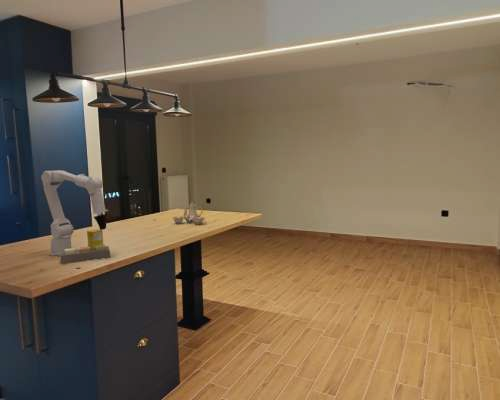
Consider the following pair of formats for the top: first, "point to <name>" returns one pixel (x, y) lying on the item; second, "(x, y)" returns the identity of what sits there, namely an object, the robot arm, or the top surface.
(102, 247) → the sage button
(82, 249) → the terracotta button
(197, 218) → the chinaware
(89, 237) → the supplement box
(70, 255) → the console
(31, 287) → the top surface
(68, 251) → the cream button
